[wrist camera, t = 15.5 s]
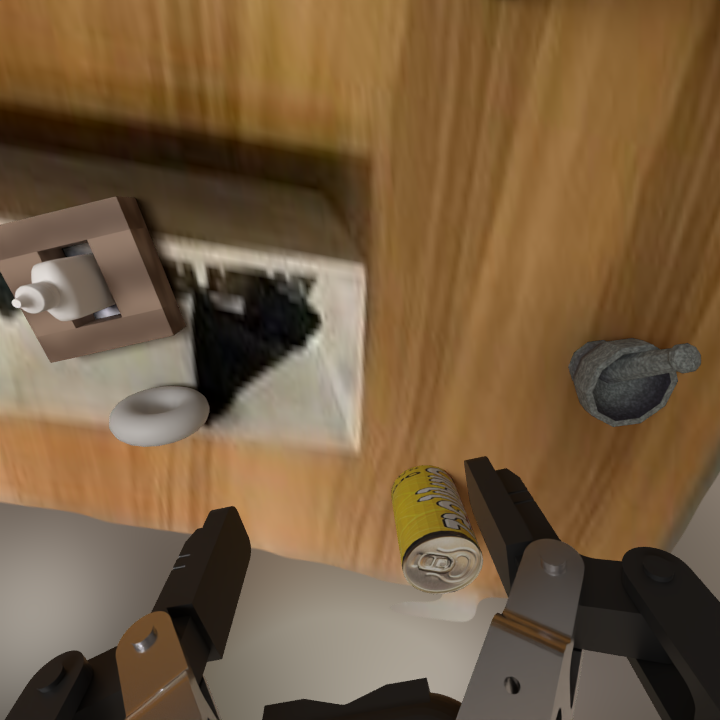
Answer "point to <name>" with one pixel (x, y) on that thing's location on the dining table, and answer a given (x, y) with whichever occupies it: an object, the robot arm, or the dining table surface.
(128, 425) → the donut
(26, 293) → the eye dropper bottle
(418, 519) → the beverage can
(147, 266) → the walnut socket block
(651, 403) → the mortar and pestle
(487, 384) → the dining table surface
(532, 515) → the robot arm
